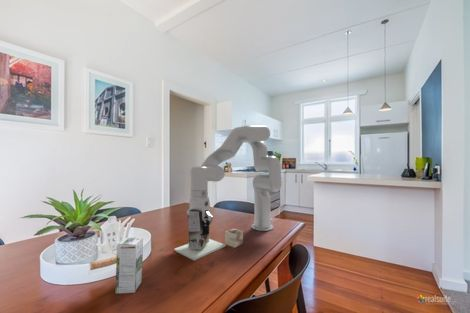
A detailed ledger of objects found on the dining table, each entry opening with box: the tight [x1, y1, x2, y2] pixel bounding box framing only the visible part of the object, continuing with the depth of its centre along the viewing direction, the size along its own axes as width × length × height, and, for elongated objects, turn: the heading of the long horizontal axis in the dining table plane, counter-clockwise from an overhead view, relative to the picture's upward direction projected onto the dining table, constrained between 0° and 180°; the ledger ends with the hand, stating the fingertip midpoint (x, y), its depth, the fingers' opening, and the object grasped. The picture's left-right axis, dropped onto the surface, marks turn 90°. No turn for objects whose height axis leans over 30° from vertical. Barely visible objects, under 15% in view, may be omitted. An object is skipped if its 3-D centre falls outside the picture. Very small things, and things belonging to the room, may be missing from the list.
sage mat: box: [173, 238, 226, 261], centre depth 92 cm, size 18×14×1 cm
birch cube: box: [224, 228, 244, 249], centre depth 98 cm, size 6×6×6 cm
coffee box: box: [188, 210, 210, 249], centre depth 92 cm, size 9×6×16 cm
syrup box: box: [114, 237, 144, 295], centre depth 64 cm, size 6×6×14 cm
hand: (199, 232), depth 92 cm, fingers closed on coffee box, 8 cm apart
